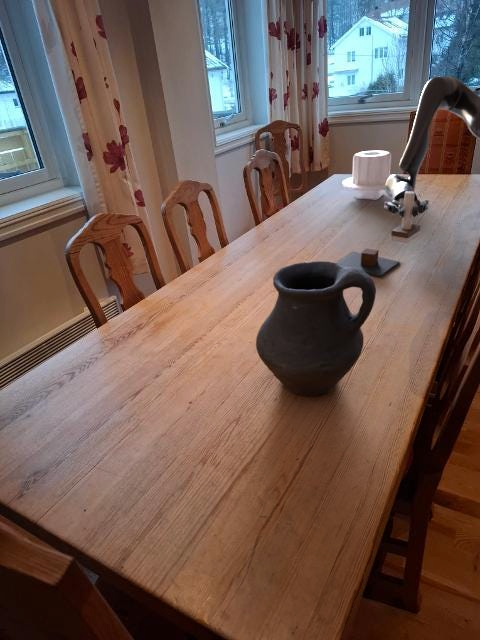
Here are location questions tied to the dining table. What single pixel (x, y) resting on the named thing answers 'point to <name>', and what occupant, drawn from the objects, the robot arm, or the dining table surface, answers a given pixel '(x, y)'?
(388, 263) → the mat
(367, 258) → the brown cube
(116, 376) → the dining table surface
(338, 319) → the pitcher
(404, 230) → the tall white pillar
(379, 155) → the flanged gear
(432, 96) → the robot arm
